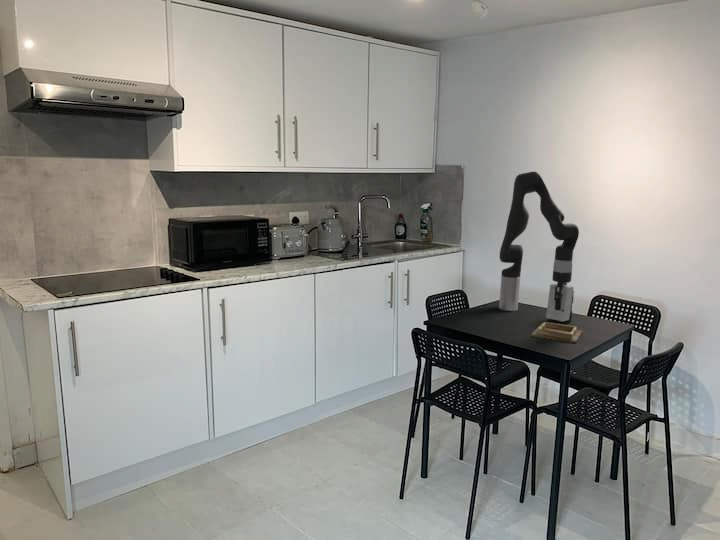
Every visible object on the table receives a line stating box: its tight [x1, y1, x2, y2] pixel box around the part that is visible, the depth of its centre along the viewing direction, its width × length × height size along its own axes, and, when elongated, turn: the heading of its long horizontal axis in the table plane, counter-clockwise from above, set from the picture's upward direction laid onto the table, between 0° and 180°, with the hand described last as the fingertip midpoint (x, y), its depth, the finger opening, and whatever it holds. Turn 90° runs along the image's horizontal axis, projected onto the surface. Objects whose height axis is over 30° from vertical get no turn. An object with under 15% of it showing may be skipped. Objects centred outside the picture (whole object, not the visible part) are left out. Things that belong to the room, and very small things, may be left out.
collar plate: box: [530, 321, 583, 344], centre depth 240 cm, size 18×18×3 cm
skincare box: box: [545, 283, 574, 322], centre depth 238 cm, size 8×6×15 cm
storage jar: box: [549, 290, 575, 324], centre depth 262 cm, size 10×10×15 cm
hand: (559, 308), depth 238 cm, fingers closed on skincare box, 7 cm apart
